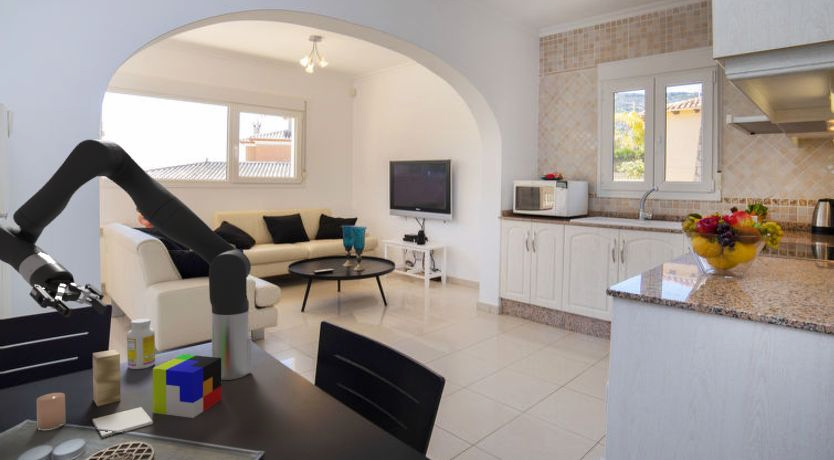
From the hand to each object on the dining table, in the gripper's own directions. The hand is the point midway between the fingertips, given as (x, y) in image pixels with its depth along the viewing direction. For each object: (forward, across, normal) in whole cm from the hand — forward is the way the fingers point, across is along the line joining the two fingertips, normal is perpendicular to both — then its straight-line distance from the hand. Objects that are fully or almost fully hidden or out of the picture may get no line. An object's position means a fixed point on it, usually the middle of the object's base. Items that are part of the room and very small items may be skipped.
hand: (87, 312), depth 111 cm
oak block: (+15, +2, +15) cm, 21 cm away
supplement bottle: (+4, +22, +18) cm, 29 cm away
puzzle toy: (+32, +6, +5) cm, 33 cm away
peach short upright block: (+16, -11, +16) cm, 25 cm away
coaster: (+27, -5, +9) cm, 29 cm away
